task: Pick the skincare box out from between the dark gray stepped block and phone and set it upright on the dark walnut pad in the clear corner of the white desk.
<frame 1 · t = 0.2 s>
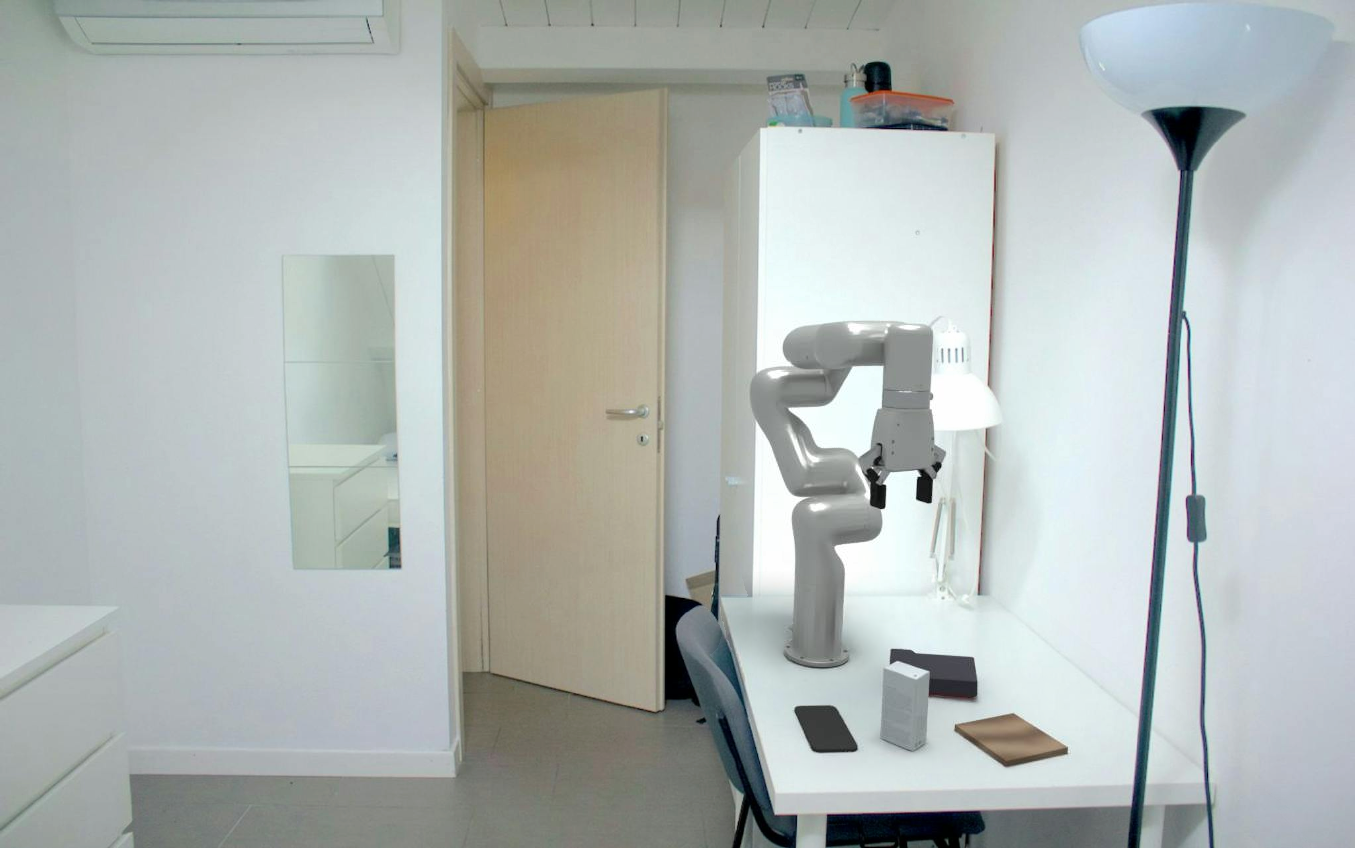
hand: (900, 504, 147), 36 cm above the table, tool pointing down, fingers open, 9 cm apart
dark gray stepped block: (932, 662, 163), point 4 cm above the table
phone: (824, 731, 147), on the table
skincare box: (902, 742, 143), on the table
walnut pad: (1009, 741, 143), on the table
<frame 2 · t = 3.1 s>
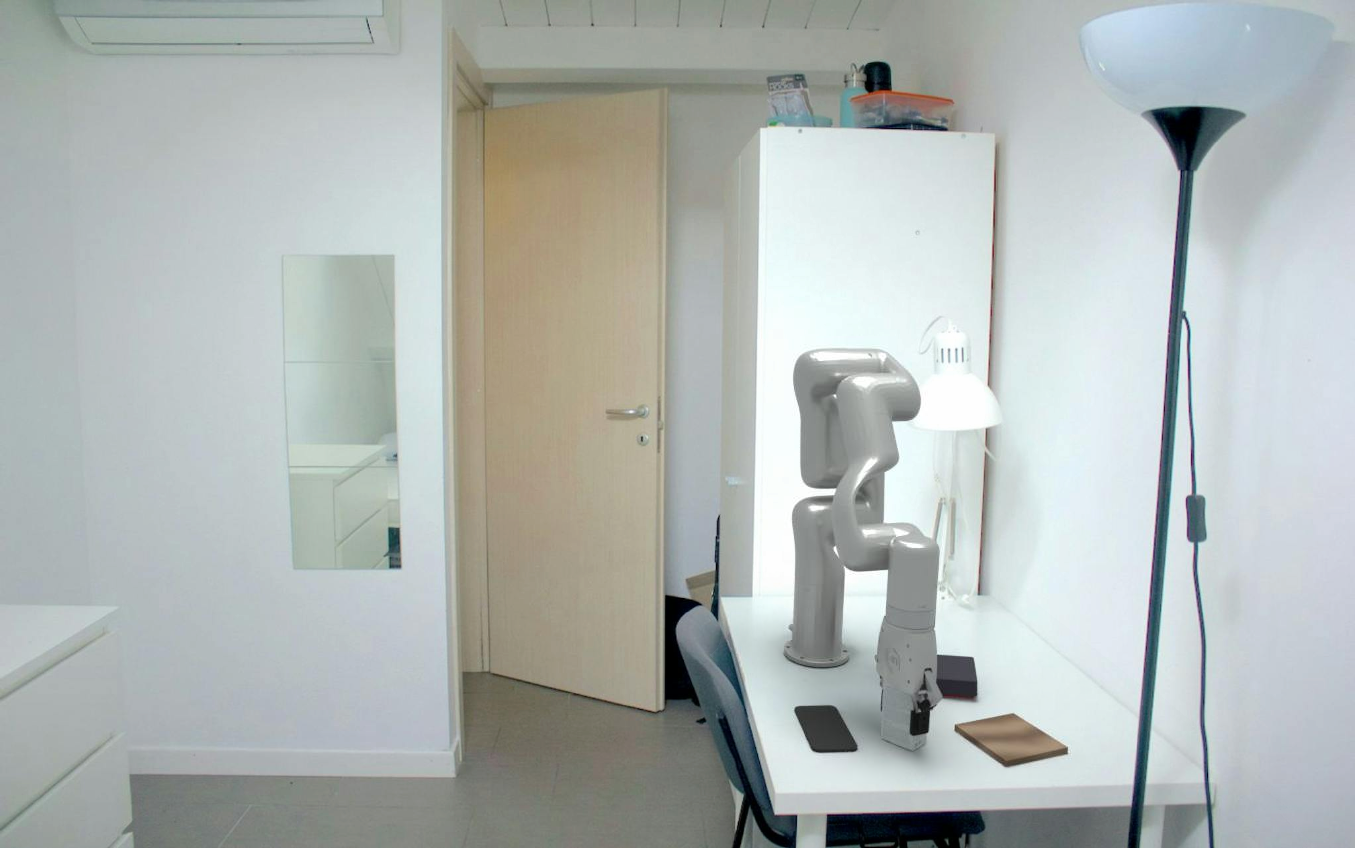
hand: (904, 721, 143), 3 cm above the table, tool pointing down, fingers closed on skincare box, 7 cm apart
skincare box: (902, 742, 143), on the table, touching gripper
everything else where it was.
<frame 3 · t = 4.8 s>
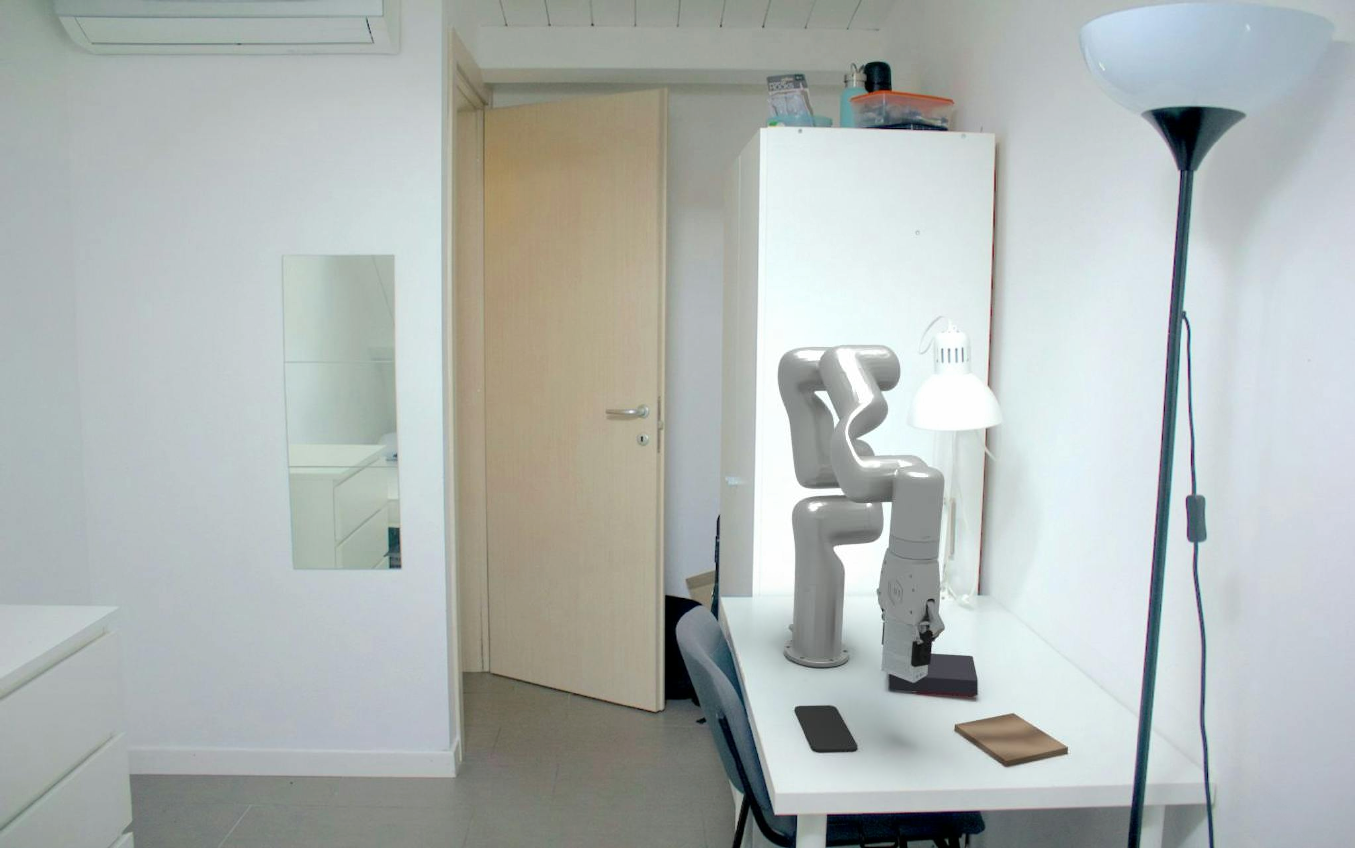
hand: (905, 653, 142), 14 cm above the table, tool pointing down, fingers closed on skincare box, 7 cm apart
skincare box: (903, 674, 142), point 11 cm above the table, touching gripper
everything else where it was.
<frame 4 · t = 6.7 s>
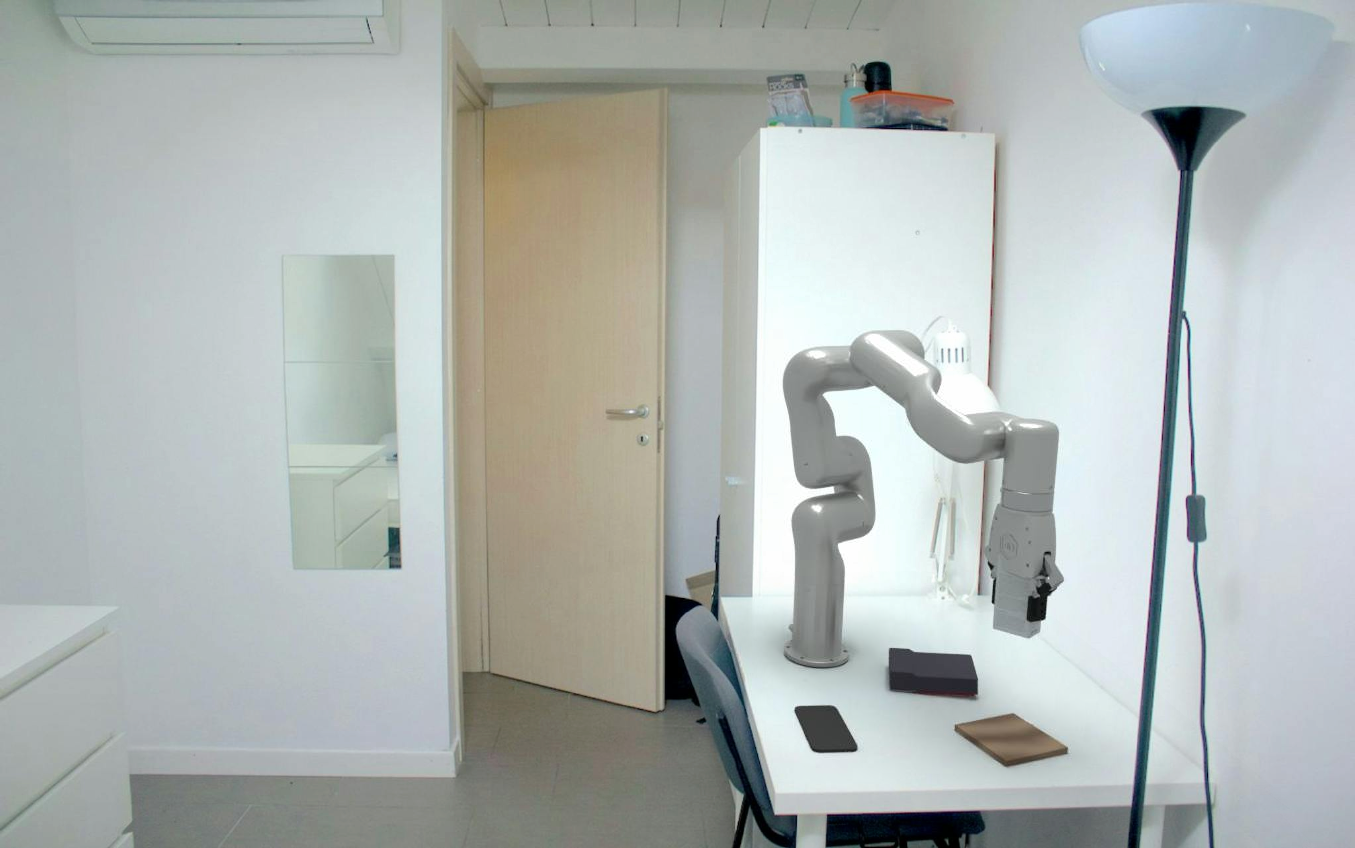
hand: (1017, 611, 140), 22 cm above the table, tool pointing down, fingers closed on skincare box, 7 cm apart
skincare box: (1015, 632, 141), point 18 cm above the table, touching gripper
everything else where it was.
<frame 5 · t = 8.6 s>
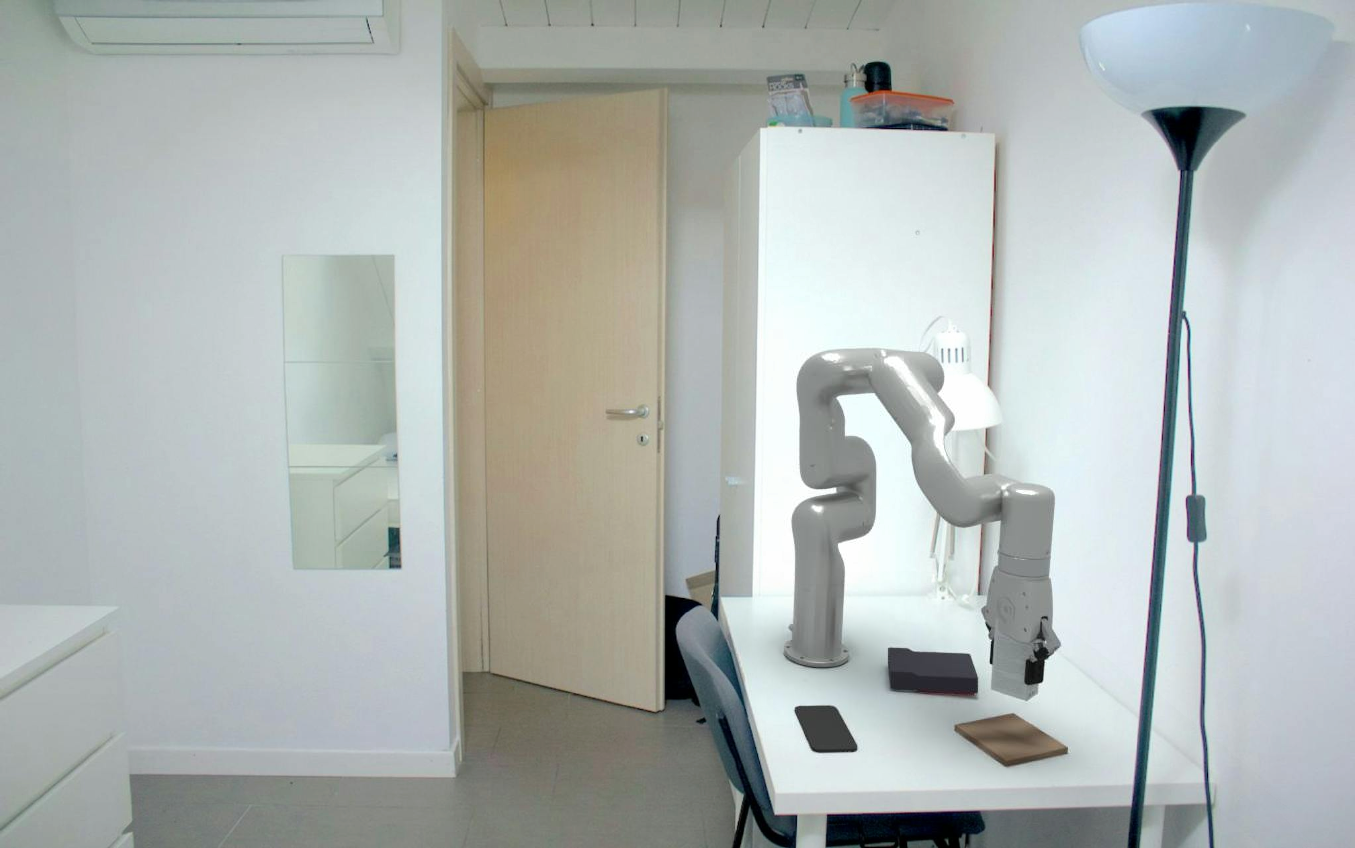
hand: (1015, 672, 142), 12 cm above the table, tool pointing down, fingers closed on skincare box, 7 cm apart
skincare box: (1013, 693, 142), point 8 cm above the table, touching gripper
everything else where it was.
when the fingers open (6 cm above the table, at t = 10.3 s): skincare box drops 1 cm, resting on walnut pad.
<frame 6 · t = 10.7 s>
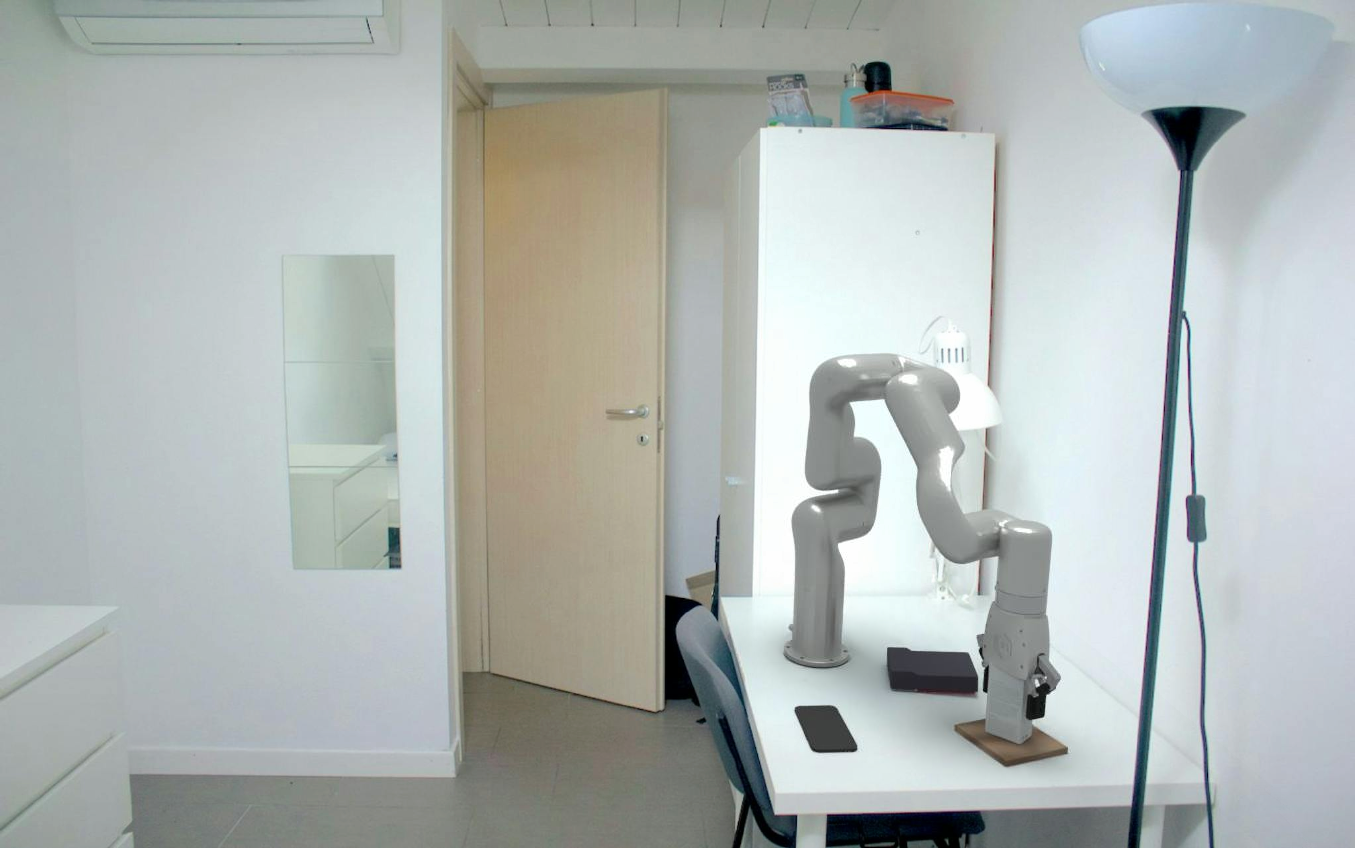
hand: (1012, 704, 142), 6 cm above the table, tool pointing down, fingers open, 9 cm apart
skincare box: (1007, 735, 144), point 1 cm above the table, touching walnut pad
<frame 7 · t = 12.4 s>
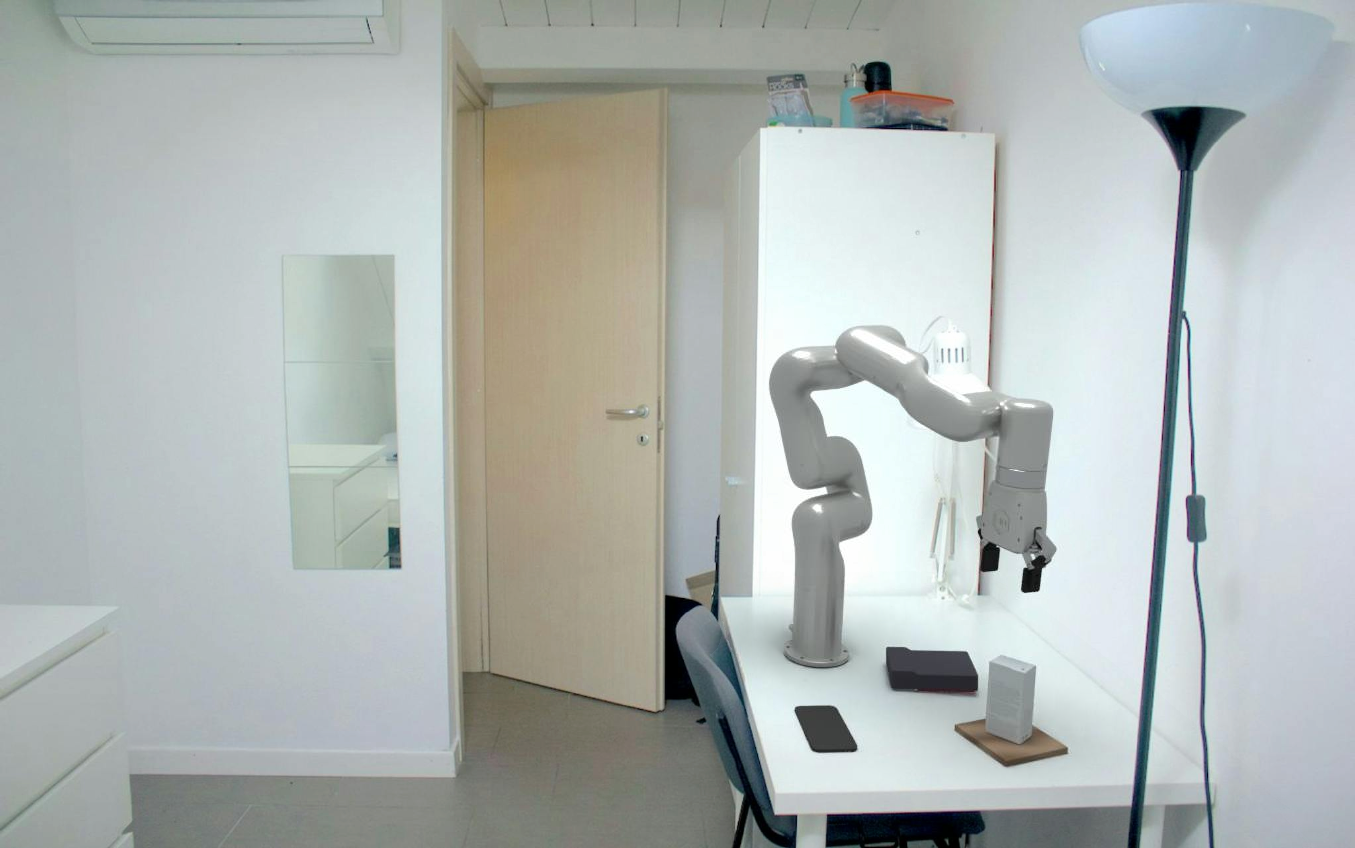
hand: (1008, 581, 145), 25 cm above the table, tool pointing down, fingers open, 9 cm apart
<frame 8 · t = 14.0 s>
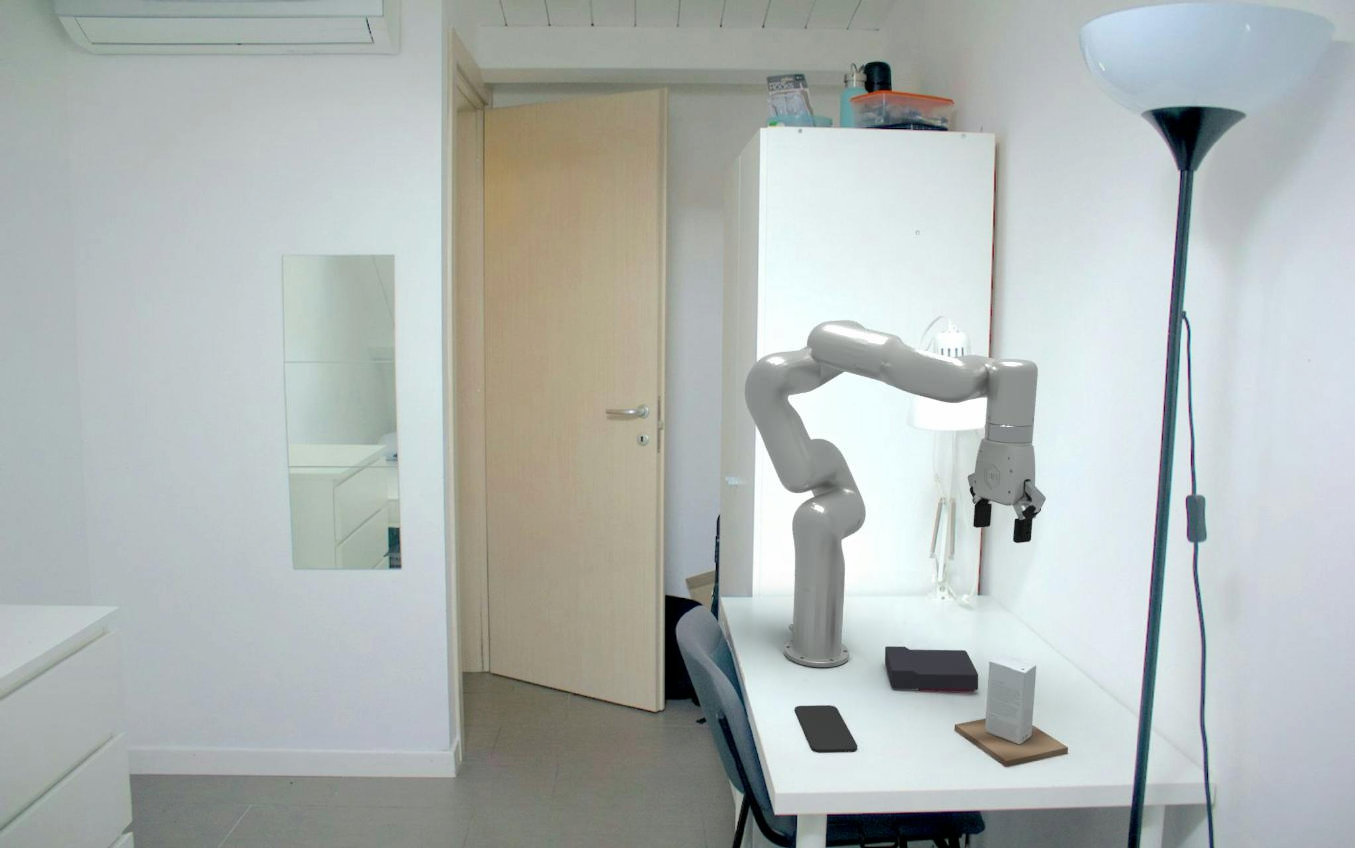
hand: (1001, 534, 152), 30 cm above the table, tool pointing down, fingers open, 9 cm apart
at the end: skincare box inside the target area on the walnut pad (0.5 cm from its centre), point 0.8 cm above the walnut pad's base; skincare box tilted 0°; the gripper is holding nothing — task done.
